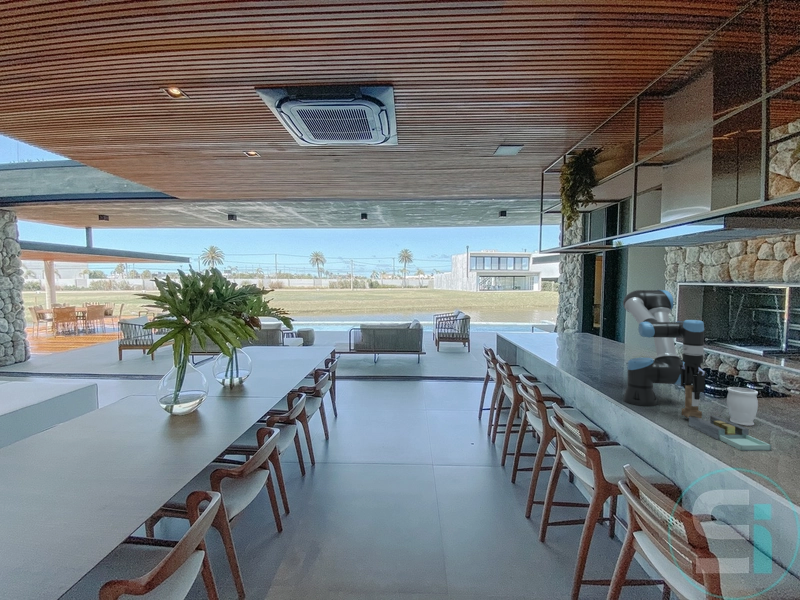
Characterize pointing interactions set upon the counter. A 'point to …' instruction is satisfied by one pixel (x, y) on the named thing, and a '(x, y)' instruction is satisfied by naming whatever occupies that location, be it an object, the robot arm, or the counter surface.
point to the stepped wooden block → (690, 404)
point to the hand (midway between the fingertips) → (691, 404)
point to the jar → (742, 405)
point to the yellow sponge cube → (728, 428)
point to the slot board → (730, 436)
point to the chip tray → (746, 443)
